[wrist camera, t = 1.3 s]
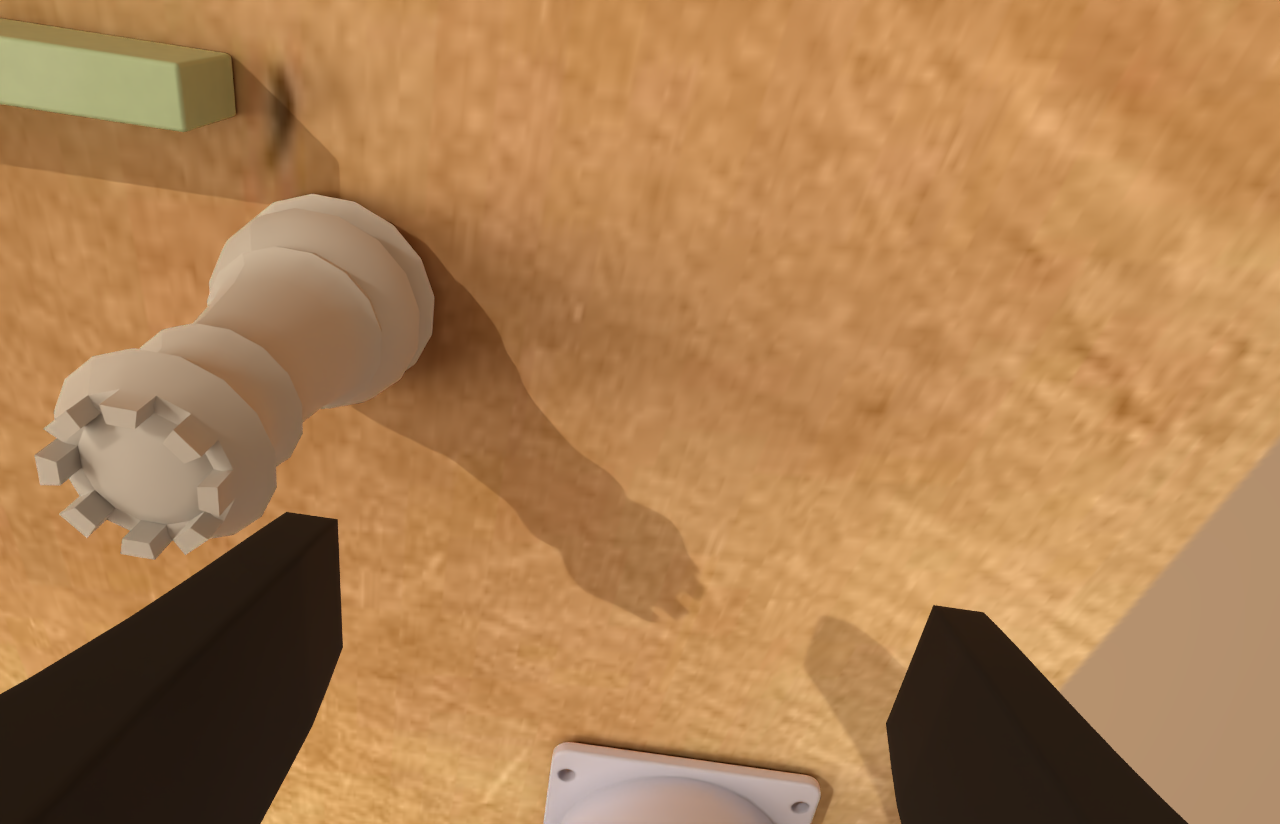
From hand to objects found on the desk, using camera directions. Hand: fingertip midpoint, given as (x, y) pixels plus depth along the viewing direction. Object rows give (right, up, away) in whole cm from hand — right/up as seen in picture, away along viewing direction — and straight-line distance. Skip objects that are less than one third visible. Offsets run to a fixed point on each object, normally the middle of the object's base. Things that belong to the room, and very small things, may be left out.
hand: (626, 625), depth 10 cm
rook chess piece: (-6, +5, +9) cm, 12 cm away
